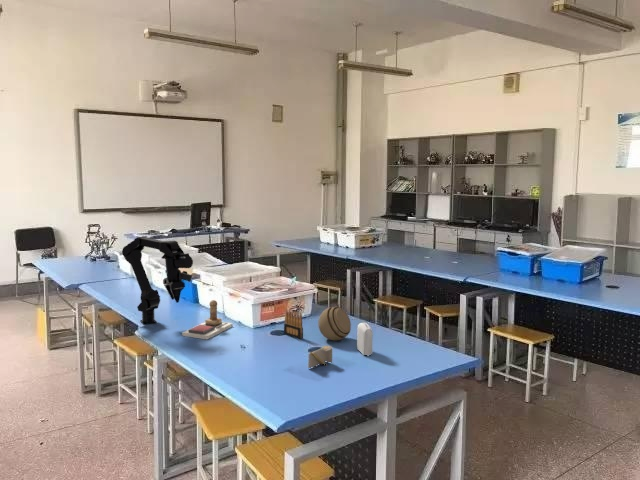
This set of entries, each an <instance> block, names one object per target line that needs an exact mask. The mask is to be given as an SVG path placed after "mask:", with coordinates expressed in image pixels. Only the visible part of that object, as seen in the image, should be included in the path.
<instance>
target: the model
mask: <svg viewBox="0 0 640 480" xmlns="http://www.w3.org/2000/svg"><path fill="white" fill-rule="evenodd" d="M325 361H327V362H331V363H332V364H333V347H332V346H329V345H325V346H322V347H321V348H319V349H316V350H314V351H308V364H307V365H308V367H307V368H311V367H314V366H316V365H318V364H321V365H322V364H324V365H323V366H325V364H326V363H324V362H325ZM316 367H317V366H316ZM314 368H315V367H314Z"/></svg>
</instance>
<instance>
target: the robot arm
mask: <svg viewBox="0 0 640 480" xmlns="http://www.w3.org/2000/svg"><path fill="white" fill-rule="evenodd" d="M145 247H146V248H149V249H150V248H151V249H154V250H158V251H159V252H160V253H162V254H163V255H162V256H161V260H163V259H164V260H165V269H166V270H164V271H165V274H166V277H164V279H162V283H163V286H164V288H165V290H166V291H167V293H168V295H169V298H170V299H171V300H174V301H175V302H176V303H180V298H181V294H182V293H181V292H182V291H183V290H184V289H185V288H186V283H185V281H186V282H189V283H191V282H192V281H191V280H192V277H193V275H192V274H189V273H188V271H187V270H183V271H181V269H191V268H192V267H193V264H194V260H193V257H192V256H190V253H185V252H184V251H183V249H182V247H181V245H180V244H179V243H178V241H177V240H159V239H155V238H151V237H150V238H149V237H146V236H144V235H143V236H137V237H136V238H134V240H132V241H131V242H129V243H128V244H127V245H125V246H124V247H123V248H122V250H121V253H122V255H123V258H124V260H125V261H126V262H127V263H129V264H130V266H131V269H132V271H133V273H134V276H135V279H136V282H137V283H138V287H139V289H140V303H139V304H138V305H137V306H136V307H137V311H138V312H141V318H142V319H140V320H139V321H140V322H141V324H142V325H148V324H156V323H158V321H157V320H156V318H155V310H156V309H158V308H159V306H160V304H161V296H160V293H159V291H158V289H153V288H152V286H151V283H150V280H149V278H148V275H147V272H146V270H145V267H144V265H143V263H142V258H143V257H142V256H143V253H142V251H143V250H144V249H145Z"/></svg>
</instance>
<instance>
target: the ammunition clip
mask: <svg viewBox="0 0 640 480" xmlns="http://www.w3.org/2000/svg"><path fill="white" fill-rule="evenodd" d="M284 315H285V316H284V323H283V335H285V336H288V337H291V338H295V339H298V340H303V339H304V327H303V315H302V312H299V311H297V312H296V310H291V309H290V308H289V309H288V308H286V309H285V313H284Z"/></svg>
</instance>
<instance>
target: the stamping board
mask: <svg viewBox="0 0 640 480" xmlns="http://www.w3.org/2000/svg"><path fill="white" fill-rule="evenodd" d="M233 324H234V323H233V322H225V321H222V324H220V325H218V326H216V327H215V329H214V330H212V331H210V332H208V333H206V334H204V335H202V334H195V333H189V329H187V330H185V331H183V332H181V333H182V334H181V335H182V337H189V338H195V339H202V340H209V339H211V338H213V337H215V336H217V335H218V334H221V333H222V332H224V331H227V330H228V329H230V328H232V327H233V326H234V325H233ZM198 325H205V321H204V322H202V323H200V324H198ZM198 325H195V326H194V327H196V326H198ZM194 327H191V328H190V329H192V328H194Z"/></svg>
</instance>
